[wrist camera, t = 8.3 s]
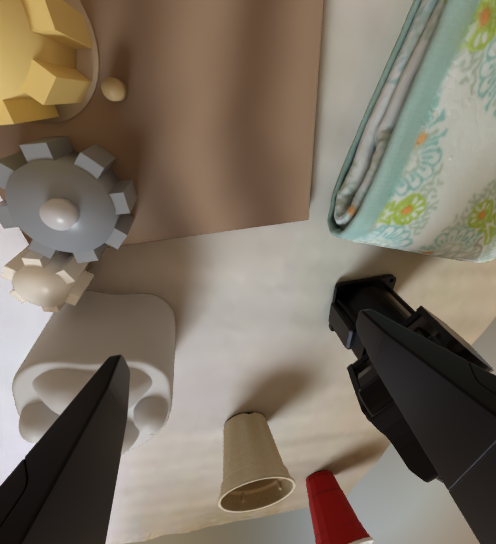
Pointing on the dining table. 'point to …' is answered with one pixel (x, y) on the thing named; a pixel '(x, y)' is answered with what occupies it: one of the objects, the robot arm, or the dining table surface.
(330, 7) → the dining table surface
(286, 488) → the flower pot
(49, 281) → the small gear
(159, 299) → the grey paw block
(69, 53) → the loose gear
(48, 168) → the gear
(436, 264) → the dining table surface
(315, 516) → the plastic cup
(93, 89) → the board
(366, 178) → the towel
